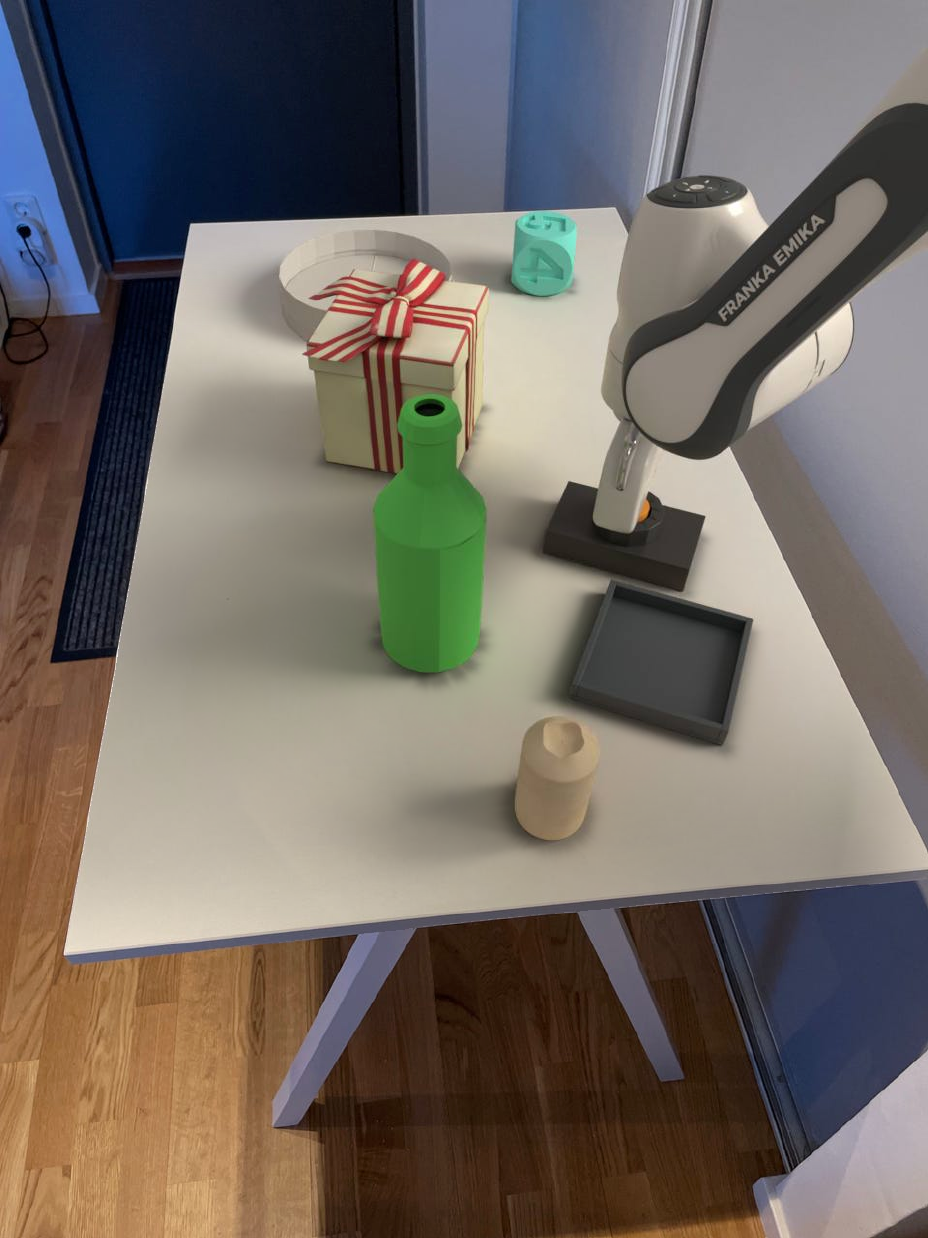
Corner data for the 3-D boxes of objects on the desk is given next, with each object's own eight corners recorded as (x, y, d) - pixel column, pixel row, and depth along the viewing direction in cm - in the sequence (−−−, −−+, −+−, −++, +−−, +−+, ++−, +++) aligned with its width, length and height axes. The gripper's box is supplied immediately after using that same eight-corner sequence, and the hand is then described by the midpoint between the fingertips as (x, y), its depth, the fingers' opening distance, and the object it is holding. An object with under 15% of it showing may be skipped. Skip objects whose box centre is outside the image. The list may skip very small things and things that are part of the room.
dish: (297, 260, 128) (293, 225, 124) (456, 267, 127) (457, 232, 124) (268, 349, 113) (262, 311, 109) (447, 357, 113) (448, 320, 109)
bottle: (459, 595, 86) (466, 362, 68) (494, 662, 81) (513, 430, 62) (368, 618, 84) (350, 385, 65) (399, 690, 79) (388, 458, 60)
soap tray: (748, 633, 84) (753, 618, 82) (722, 746, 76) (728, 732, 74) (608, 593, 87) (611, 578, 85) (568, 698, 79) (571, 684, 77)
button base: (699, 537, 92) (710, 500, 88) (683, 591, 87) (694, 554, 83) (565, 502, 95) (570, 464, 92) (542, 553, 90) (547, 514, 86)
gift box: (330, 383, 108) (316, 241, 95) (485, 400, 107) (492, 258, 94) (290, 475, 97) (268, 328, 84) (463, 495, 96) (467, 349, 83)
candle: (499, 806, 71) (507, 733, 64) (548, 766, 74) (561, 691, 66) (550, 855, 69) (564, 785, 61) (599, 812, 71) (619, 739, 64)
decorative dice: (570, 298, 123) (577, 240, 117) (510, 294, 123) (514, 236, 117) (570, 268, 128) (576, 211, 122) (512, 265, 128) (516, 208, 122)
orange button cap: (649, 513, 89) (653, 497, 88) (640, 536, 87) (644, 520, 86) (613, 504, 90) (616, 487, 89) (604, 527, 88) (607, 511, 86)
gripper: (666, 460, 70) (636, 586, 80) (715, 326, 82) (683, 449, 93) (586, 440, 71) (566, 567, 81) (646, 312, 84) (622, 435, 94)
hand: (629, 503), depth 87 cm, fingers closed, pressing on orange button cap
